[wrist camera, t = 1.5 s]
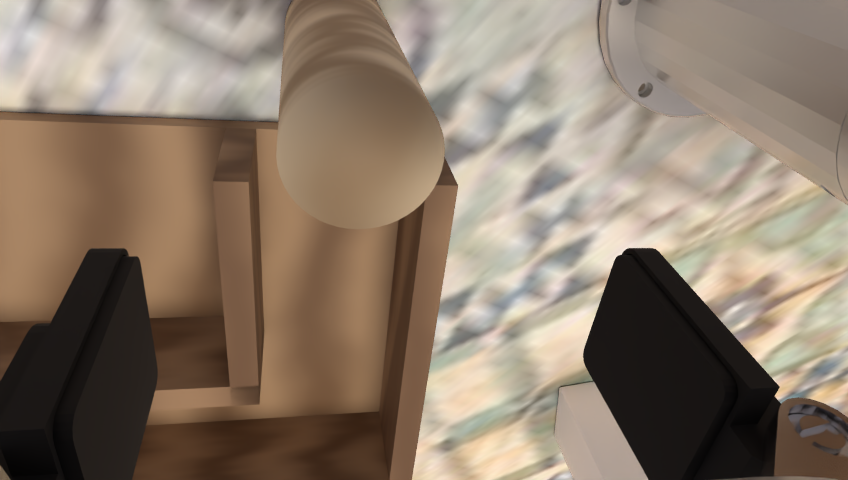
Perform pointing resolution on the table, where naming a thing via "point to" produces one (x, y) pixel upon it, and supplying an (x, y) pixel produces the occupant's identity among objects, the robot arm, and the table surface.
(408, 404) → the channel board
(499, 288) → the table surface
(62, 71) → the table surface
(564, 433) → the milk
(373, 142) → the beech peg
